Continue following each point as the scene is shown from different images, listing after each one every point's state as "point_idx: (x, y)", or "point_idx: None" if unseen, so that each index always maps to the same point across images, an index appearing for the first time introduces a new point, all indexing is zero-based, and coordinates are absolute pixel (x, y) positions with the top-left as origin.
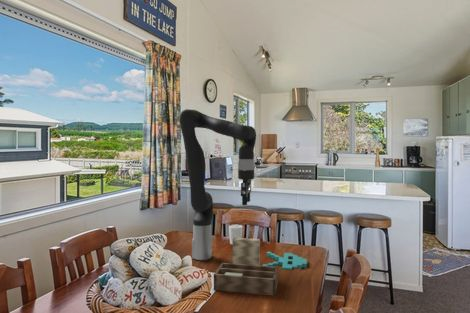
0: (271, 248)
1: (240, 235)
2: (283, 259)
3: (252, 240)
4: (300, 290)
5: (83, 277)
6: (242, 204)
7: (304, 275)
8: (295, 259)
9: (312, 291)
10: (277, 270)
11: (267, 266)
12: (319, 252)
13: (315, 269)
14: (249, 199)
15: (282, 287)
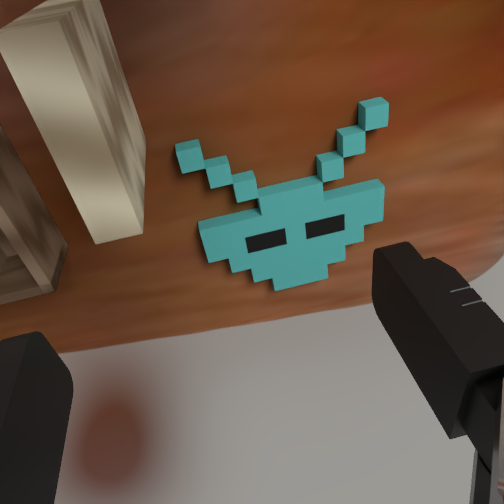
0: (487, 85)
1: None
2: (296, 208)
3: (78, 204)
4: (63, 315)
5: None
6: (4, 344)
7: (194, 294)
8: (309, 248)
9: (80, 340)
10: (26, 295)
11: (27, 256)
12: None
13: (263, 306)
14: (391, 333)
15: None
